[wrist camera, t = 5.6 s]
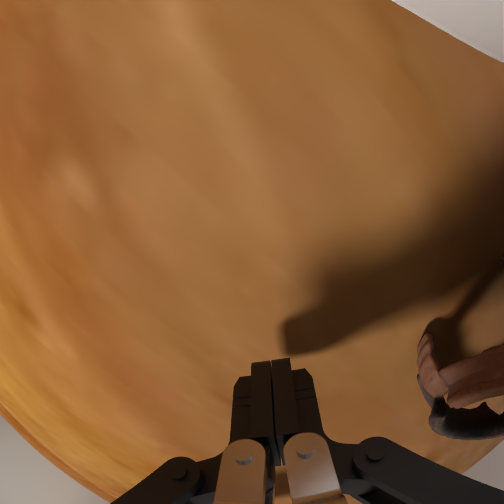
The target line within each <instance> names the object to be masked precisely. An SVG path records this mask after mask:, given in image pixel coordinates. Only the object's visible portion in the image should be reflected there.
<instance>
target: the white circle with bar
mask: <svg viewBox="0 0 504 504" xmlns="http://www.w3.org/2000/svg"><path fill="white" fill-rule="evenodd" d="M392 1H394V2H395V3H397V4H399V5H400V6H402V7H404V8H406V9H407V10H409V11H411V12H413V13H414V14H416V15H418V16H419V17H421V18H423V19H425V20H426V21H428V22H430V23H431V24H433V25H435V26H436V27H438V28H440V29H442V30H443V31H445V32H447V33H449V34H450V35H452V36H454V37H455V38H457V39H459V40H461V41H463V42H464V43H466V44H468V45H470V46H471V47H473V48H475V49H477V50H479V51H481V52H483V53H485V54H486V55H489V56H491V57H493V58H495V59H497V60H499V61H501V62H503V63H504V0H392Z"/></svg>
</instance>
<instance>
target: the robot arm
mask: <svg viewBox="0 0 504 504" xmlns="http://www.w3.org/2000/svg"><path fill="white" fill-rule="evenodd" d="M271 363H272V367H271ZM232 407H233V408H232V418H231V432H230V442H229V444H228V446H227V447H226V448H225V450H224V451H223V452H222V453H221V454H219V455H218V456H216V457H213V458H210V459H206V460H203V461H199V462H195V461H194V460H192V459H190V458H187V457H175V458H172V459H170V460H168V461H167V462H165V463H164V464H163V465H162V466H160V467H159V468H158V469H157V470H155V471H154V472H153V473H151V474H150V475H149V476H148V477H146V478H145V479H144V480H142V481H141V482H140V483H138V484H137V485H136V486H134V487H133V488H132V489H130V490H129V491H127V492H126V493H125V494H123V495H122V496H120V497H119V498H118V499H116V500H115V501H113V502H112V503H110V504H274V498H275V466H281V459H282V463H283V465H286V471H287V477H288V483H289V489H290V495H291V500H292V504H348V503H347V500H346V498H345V496H344V495H343V494H350V495H351V496H352V497H353V498H355V499H357V500H358V501H360V502H361V503H363V504H504V491H502V490H500V489H497V488H494V487H491V486H489V485H486V484H484V483H481V482H478V481H476V480H473V479H471V478H469V477H466V476H463V475H461V474H459V473H457V472H454V471H452V470H450V469H448V468H445V467H443V466H441V465H439V464H437V463H435V462H432V461H430V460H428V459H426V458H424V457H422V456H420V455H418V454H416V453H414V452H412V451H410V450H408V449H406V448H404V447H402V446H400V445H398V444H396V443H394V442H393V441H391V440H389V439H387V438H384V437H371V438H368V439H365V440H364V441H362V442H361V443H360V444H342V443H338V442H335V441H332V440H331V439H329V438H328V437H327V436H326V435H325V433H324V431H323V428H322V423H321V418H320V413H319V408H318V403H317V398H316V393H315V389H314V383H313V379H312V376H311V375H310V374H309V373H308V371H307V370H306V369H305V368H304V369H298V370H291V364H290V358H284V359H277V360H271V362H270V361H263V362H254V363H252V364H251V376H244V377H239V379H238V381H237V382H236V384H235V386H234V391H233V405H232Z"/></svg>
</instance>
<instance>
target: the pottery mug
mask: <svg viewBox="0 0 504 504" xmlns="http://www.w3.org/2000/svg"><path fill="white" fill-rule="evenodd" d="M501 264H502V266H503V267H504V255H503V256H502V257H501ZM417 364H418V366H419V370H418V371H419V374H418V375H417V380H418V383H419V386H420V388H421V390H422V393H423V396H424V398H425V399H426V401H427V403H428V404H429V405H430V407H431V408H432V411H431V415H430V416H429V425H430V427H431V428H432V430H433V431H434V432H436V433H437V434H439V435H442V436H446V437H449V438H452V439H461V440H482V439H489V438H495V437H500V436H504V412H503V413H502V414H500V415H498V414H497V413H495V412H494V411H493V410H491V409H490V408H489V407H488V406H487V404H486V402H483V403H482V404H480V406H478V407H477V408H473V409H465V408H462V407H465V406H467V405H470V404H472V403H475V402H478V401H481V400H483V399H486V398H491V397H496V396H501V395H504V344H502V345H499V346H494V347H491V348H489V349H486V350H484V351H483V352H482V353H481V354H479V355H477V356H474V357H472V358H467V359H463V360H460V361H457V362H455V363H453V364H450V365H448V366H446V367H445V368H443V367H442V365H441V364H440V362H439V360H438V358H437V355H436V350H435V345H434V337H433V335H432V334H430V333H425V335H424V336H423V337H422V339H421V341H420V343H419V345H418V359H417ZM448 391H449V392H448ZM447 392H448V397H447V404H446V402H445V399H444V397H443V396H444V395H445V394H447ZM449 406H452V407H453V408H450V407H449Z"/></svg>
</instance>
